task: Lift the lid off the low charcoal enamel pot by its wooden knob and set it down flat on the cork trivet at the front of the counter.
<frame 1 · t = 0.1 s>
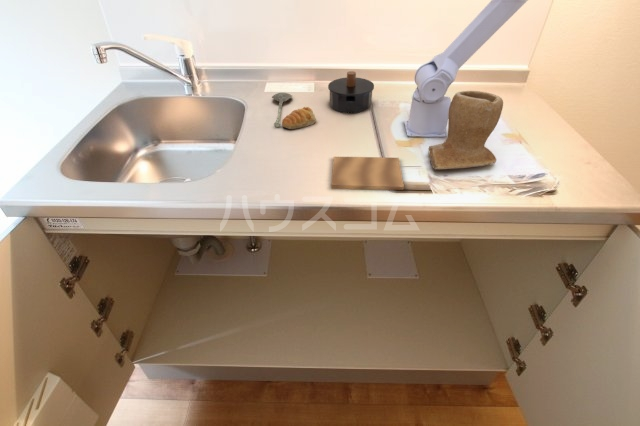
lid: (350, 87, 95), point 5 cm above the worktop, touching pot
trivet: (366, 174, 71), on the worktop
pastry: (300, 124, 90), on the worktop
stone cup: (456, 159, 74), on the worktop
soupspoon: (280, 111, 97), on the worktop
pot: (350, 104, 98), on the worktop
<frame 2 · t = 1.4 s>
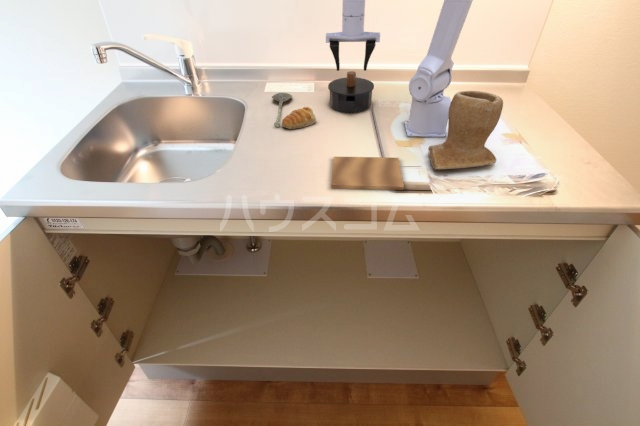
hand: (351, 69, 91), 10 cm above the worktop, tool pointing down, fingers open, 7 cm apart
nothing on the worktop moved.
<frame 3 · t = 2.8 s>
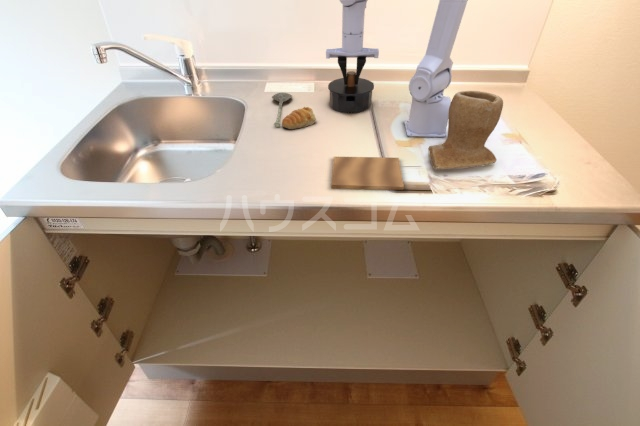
hand: (351, 83, 94), 6 cm above the worktop, tool pointing down, fingers closed on lid, 2 cm apart
lid: (350, 87, 95), point 5 cm above the worktop, touching gripper, pot
everything else where it was.
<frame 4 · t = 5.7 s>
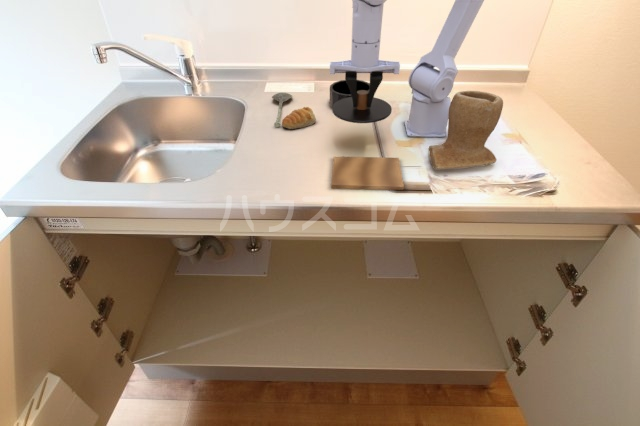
hand: (362, 105, 73), 10 cm above the worktop, tool pointing down, fingers closed on lid, 2 cm apart
lid: (361, 109, 73), point 9 cm above the worktop, touching gripper
everything else where it was.
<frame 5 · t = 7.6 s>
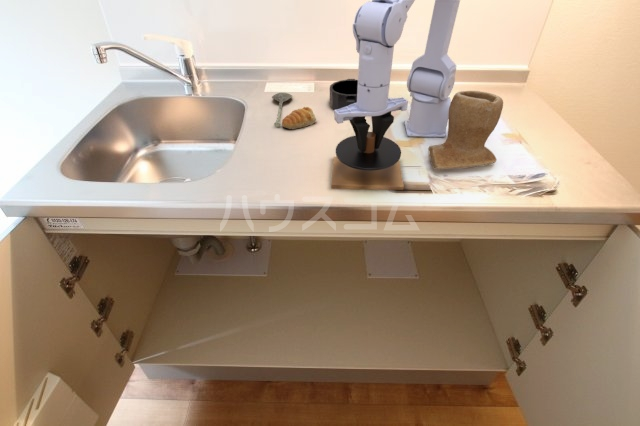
hand: (368, 148, 66), 7 cm above the worktop, tool pointing down, fingers closed on lid, 2 cm apart
lid: (367, 152, 67), point 6 cm above the worktop, touching gripper
everything else where it was.
when the fingers open (3 cm above the worktop, at t = 8.8 s): lid stays where it is, resting on trivet.
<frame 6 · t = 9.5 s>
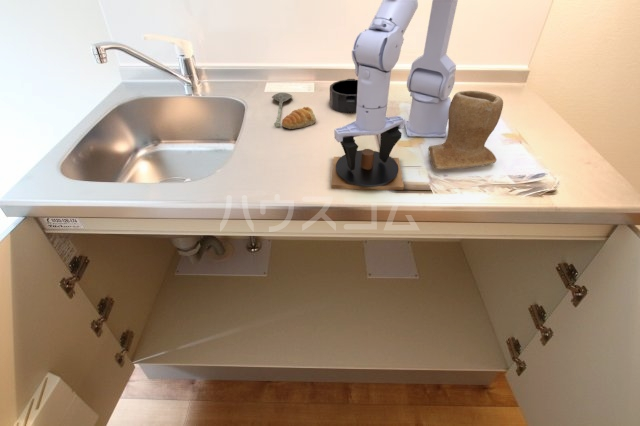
hand: (367, 163, 69), 3 cm above the worktop, tool pointing down, fingers open, 7 cm apart
lid: (366, 168, 69), point 2 cm above the worktop, touching trivet
everything else where it was.
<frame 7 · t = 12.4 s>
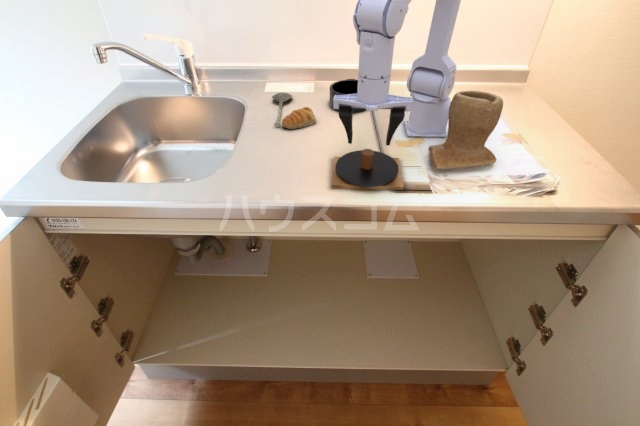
hand: (368, 142, 65), 8 cm above the worktop, tool pointing down, fingers open, 7 cm apart
nothing on the worktop moved.
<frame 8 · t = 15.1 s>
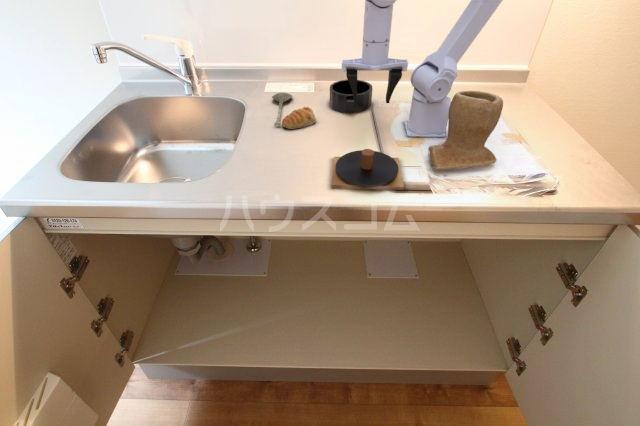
hand: (371, 101, 77), 9 cm above the worktop, tool pointing down, fingers open, 7 cm apart
nothing on the worktop moved.
at the end: lid inside the target area on the trivet (0.0 cm from its centre), point 1.6 cm above the trivet's base; lid tilted 0° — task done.
